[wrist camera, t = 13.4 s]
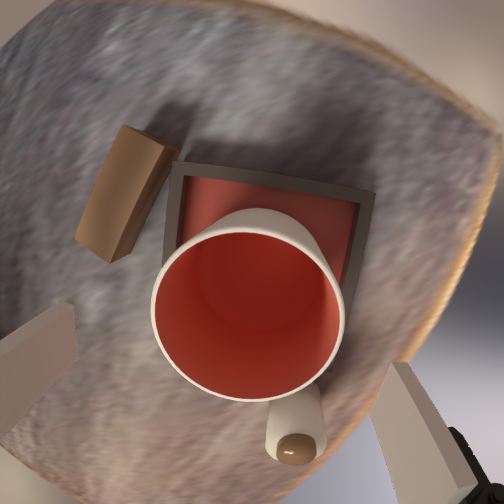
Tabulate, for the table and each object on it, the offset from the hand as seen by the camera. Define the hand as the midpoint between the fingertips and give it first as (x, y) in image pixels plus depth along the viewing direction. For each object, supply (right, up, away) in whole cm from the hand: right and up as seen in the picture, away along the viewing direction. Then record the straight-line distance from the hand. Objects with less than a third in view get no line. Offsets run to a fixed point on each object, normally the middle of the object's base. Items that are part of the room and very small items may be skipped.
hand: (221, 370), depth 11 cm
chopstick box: (-9, +10, +14) cm, 19 cm away
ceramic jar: (+5, -10, +17) cm, 20 cm away
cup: (+2, +3, +14) cm, 14 cm away
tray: (+2, +3, +14) cm, 15 cm away
